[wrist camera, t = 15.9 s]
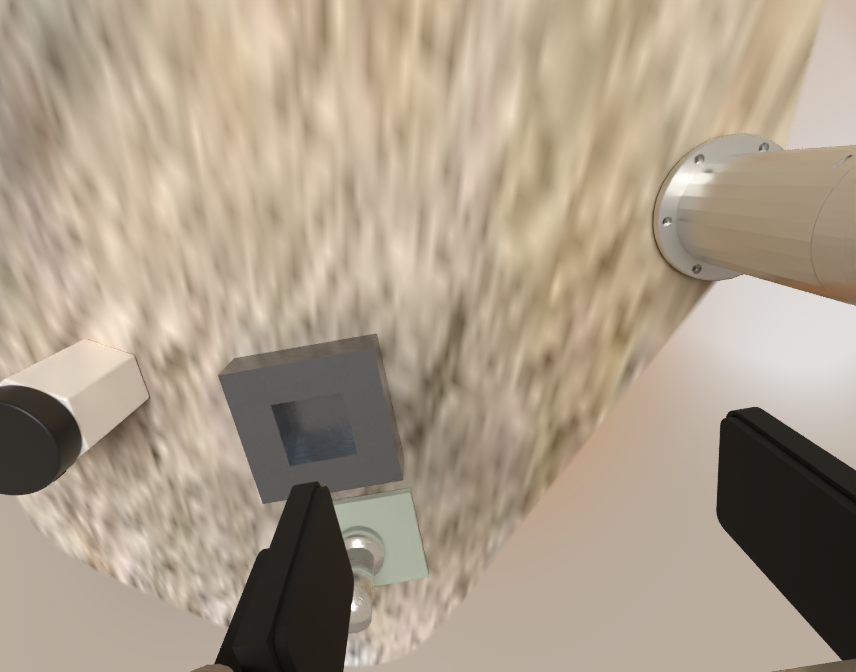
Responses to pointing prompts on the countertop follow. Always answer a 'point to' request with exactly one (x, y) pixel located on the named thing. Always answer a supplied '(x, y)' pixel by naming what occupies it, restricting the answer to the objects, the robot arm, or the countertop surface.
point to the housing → (315, 417)
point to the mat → (389, 532)
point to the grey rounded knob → (363, 571)
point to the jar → (63, 411)
